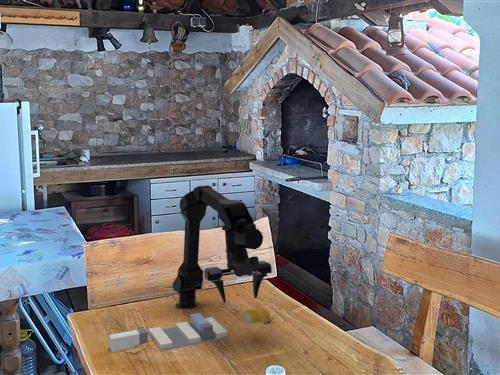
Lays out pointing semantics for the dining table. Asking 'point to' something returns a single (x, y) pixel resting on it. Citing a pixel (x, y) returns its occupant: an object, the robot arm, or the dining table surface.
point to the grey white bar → (127, 340)
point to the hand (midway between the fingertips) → (240, 300)
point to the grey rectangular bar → (201, 326)
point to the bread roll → (256, 315)
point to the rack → (183, 335)
